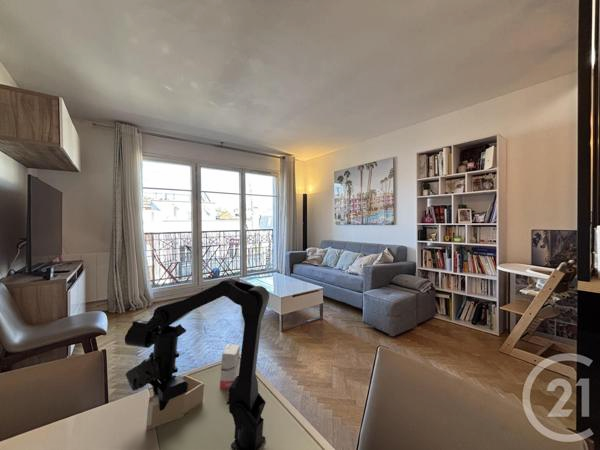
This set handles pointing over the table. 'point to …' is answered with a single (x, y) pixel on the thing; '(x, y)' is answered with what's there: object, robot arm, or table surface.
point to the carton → (192, 394)
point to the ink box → (229, 365)
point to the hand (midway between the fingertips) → (159, 407)
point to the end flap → (164, 411)
